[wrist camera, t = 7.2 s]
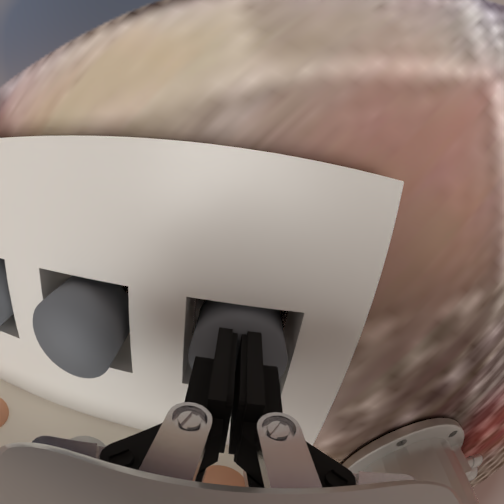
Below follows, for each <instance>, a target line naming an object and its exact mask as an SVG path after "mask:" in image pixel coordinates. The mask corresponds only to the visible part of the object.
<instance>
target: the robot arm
mask: <svg viewBox="0 0 504 504" xmlns="http://www.w3.org/2000/svg"><path fill="white" fill-rule="evenodd" d="M237 337H238V333H233V329H228V328H221V327H219V332H218V338H217V344H216V350H215V356H214V359H211V358H205V357H198V356H196V357H195V360H194V364H193V368H192V372H191V376H190V380H189V385H188V389H187V393H186V397H185V402H182V403H179V404H176V405H175V406H173V407H171V409H170V410H169V411H168V413H167V415H166V417H165V419H164V421H163V423H161V424H158V425H156V426H154V427H151V428H149V429H146V430H144V431H142V432H139V433H137V434H134V435H132V436H129V437H127V438H124V439H121V440H119V441H116V442H113V443H111V444H109V445H107V446H106V447H101V446H98V444H97V443H90V442H82V441H75V440H69V439H63V438H57V437H52V436H40V437H37V438H36V439H34V440H33V441H32V442H15V443H9V444H5V445H4V446H2V447H0V504H480V503H479V501H478V499H477V497H476V494H475V493H474V490H473V488H472V486H471V484H470V482H469V481H471V480H473V479H474V478H475V477H476V476H477V472H478V469H477V466H479V465H481V463H482V459H483V458H482V455H481V454H475V455H472V456H469V457H468V458H465V456H464V454H463V452H462V450H461V446H462V444H463V441H464V431H463V429H462V428H461V426H460V424H459V423H458V422H457V421H455V420H453V419H450V418H435V419H428V420H424V421H420V422H416V423H413V424H411V425H408V426H405V427H402V428H400V429H398V430H395V431H393V432H391V433H389V434H386V435H384V436H383V437H381V438H379V439H377V440H375V441H373V442H371V443H370V444H368V445H367V446H365V447H363V448H362V449H360V450H359V451H357V452H356V453H355V454H353V455H352V456H351V457H349V458H348V459H347V460H346V461H345V462H344V463H343V464H342V465H341V464H340V463H338V462H337V461H335V460H333V459H332V458H330V457H329V456H327V455H326V454H324V453H323V452H321V451H320V450H318V449H317V448H315V447H314V446H312V445H311V444H309V443H308V442H306V441H305V438H304V435H303V432H302V429H301V427H300V425H299V423H298V421H296V420H295V419H294V418H293V417H291V416H290V415H288V414H284V413H283V410H282V401H281V392H280V383H279V374H278V367H277V366H268V365H263V351H262V334H261V333H259V332H251V331H248V332H247V335H246V334H242V336H241V342H240V347H239V353H238V359H237V365H236V352H237ZM235 368H236V371H235ZM230 418H231V422H230ZM229 423H230V437H229V454H234V462H236V464H237V465H238V466H239V467H241V468H242V469H243V470H244V471H243V476H244V482H245V487H241V486H229V485H219V484H211V483H203V481H204V478H205V475H206V471H207V467H209V466H211V465H212V464H214V463H216V462H217V461H218V456H219V453H224V451H225V445H226V440H227V434H228V429H229Z"/></svg>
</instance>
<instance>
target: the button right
mask: <svg viewBox="0 0 504 504" xmlns="http://www.w3.org/2000/svg"><path fill="white" fill-rule="evenodd" d="M219 327H221V328H228V329H233V333H238V337H237V352H236V365H237V359H238V353H239V347H240V342H241V336H242V334H246V335H247V332H248V331H251V332H259V333H261V334H262V351H263V365H268V366H277V367H278V374H279V379H280V378H281V376H282V375H283V373H284V371H285V369H286V366H287V350H286V344H285V338H284V332H283V325H282V319H281V314H280V311H279V310H276V309H268V308H261V307H253V306H246V305H239V304H231V303H225V302H218V301H211V300H206V301H205V302H204V304H203V306H202V308H201V310H200V313H199V317H198V320H197V323H196V327H195V330H194V334H193V337H192V340H191V344H190V347H189V353H188V359H189V364H190V367H191V369H192V368H193V364H194V360H195V357H196V356H198V357H205V358H211V359H214V356H215V350H216V344H217V338H218V332H219ZM235 371H236V368H235Z"/></svg>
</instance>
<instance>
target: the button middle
mask: <svg viewBox="0 0 504 504" xmlns="http://www.w3.org/2000/svg"><path fill="white" fill-rule="evenodd" d="M33 329H34V333H35V336H36V339H37V341H38V343H39V345H40V347H41V348H42V350H43V351H44V352H45V354H46V355H47V356H48V357H49V359H50V360H51V361H52V362H54V363H55V364H56V365H57V366H58V367H60V368H61V369H63V370H64V371H66V372H68V373H70V374H72V375H74V376H77V377H81V378H96V377H99V376H101V375H103V374H104V373H106V371H107V370H108V369H109V367H110V365H111V363H112V362H113V360H114V358H115V356H116V355H117V353H118V351H119V350H120V348H121V346H122V344H123V343H124V341H125V339H126V338H127V336H128V334H129V333H130V326H129V298H128V294H127V293H126V291H125V290H124V289H123V287H122V286H121V285H118V284H113V283H108V282H103V281H98V280H93V279H88V278H83V277H78V276H74V275H72V276H71V277H70V278H69V279H67V280H66V281H65V282H64V283H62V284H61V285H60V286H59V287H58V288H56V289H55V290H54V291H53V292H52V293H51V294H49V295H48V296H47V297H46V298H45V299H44V300H42V301H41V302H40V303H39V304H38V305H37V307H36V308H35V310H34V314H33Z"/></svg>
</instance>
